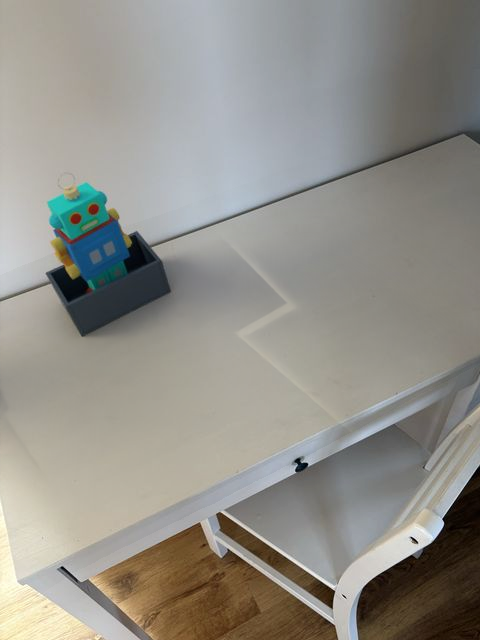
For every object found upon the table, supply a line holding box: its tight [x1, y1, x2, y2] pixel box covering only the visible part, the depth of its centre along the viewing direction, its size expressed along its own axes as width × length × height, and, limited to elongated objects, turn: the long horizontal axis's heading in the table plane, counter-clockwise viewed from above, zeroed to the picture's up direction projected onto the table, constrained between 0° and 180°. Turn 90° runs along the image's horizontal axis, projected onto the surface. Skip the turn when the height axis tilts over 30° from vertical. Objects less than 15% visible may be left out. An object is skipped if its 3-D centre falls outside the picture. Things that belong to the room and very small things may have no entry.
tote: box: [45, 230, 172, 337], centre depth 94 cm, size 17×10×8 cm, turn 124°
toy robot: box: [46, 172, 132, 294], centre depth 86 cm, size 12×6×25 cm, turn 131°
